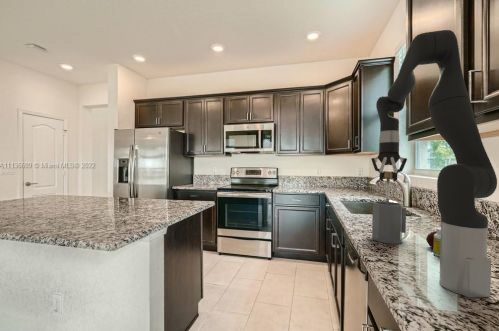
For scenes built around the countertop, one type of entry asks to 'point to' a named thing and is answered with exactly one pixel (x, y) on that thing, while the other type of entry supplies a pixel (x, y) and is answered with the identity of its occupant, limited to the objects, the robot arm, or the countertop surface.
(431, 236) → the potato
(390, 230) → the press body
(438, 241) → the supplement bottle
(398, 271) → the countertop surface
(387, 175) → the plunger
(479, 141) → the robot arm
